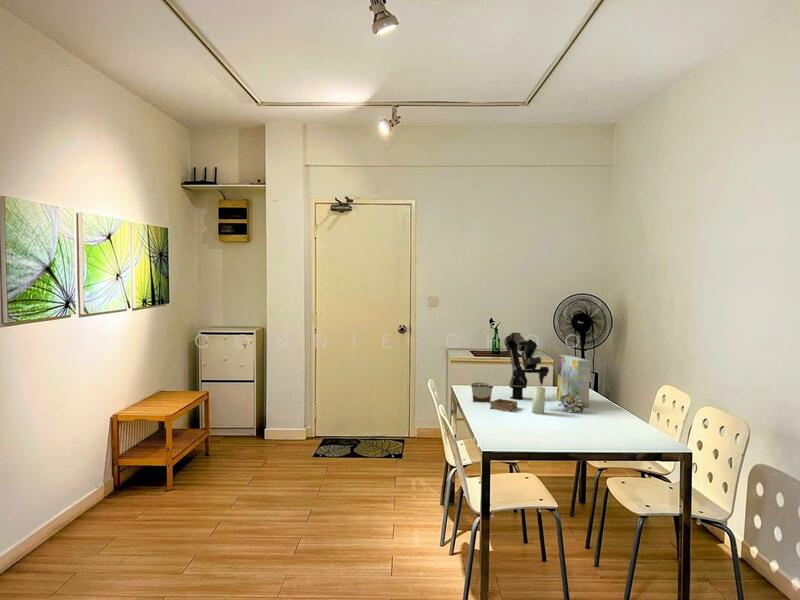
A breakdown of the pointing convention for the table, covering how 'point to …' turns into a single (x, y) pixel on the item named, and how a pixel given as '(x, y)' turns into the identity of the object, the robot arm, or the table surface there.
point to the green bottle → (538, 400)
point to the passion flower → (570, 402)
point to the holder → (504, 405)
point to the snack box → (574, 378)
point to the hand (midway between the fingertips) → (533, 384)
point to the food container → (481, 392)
